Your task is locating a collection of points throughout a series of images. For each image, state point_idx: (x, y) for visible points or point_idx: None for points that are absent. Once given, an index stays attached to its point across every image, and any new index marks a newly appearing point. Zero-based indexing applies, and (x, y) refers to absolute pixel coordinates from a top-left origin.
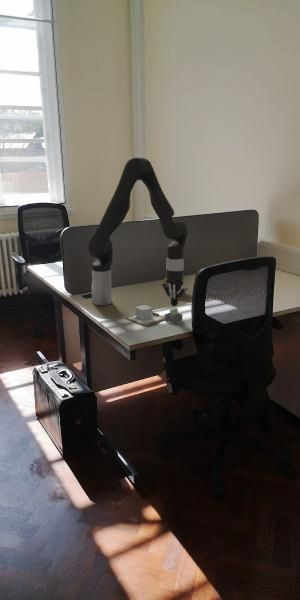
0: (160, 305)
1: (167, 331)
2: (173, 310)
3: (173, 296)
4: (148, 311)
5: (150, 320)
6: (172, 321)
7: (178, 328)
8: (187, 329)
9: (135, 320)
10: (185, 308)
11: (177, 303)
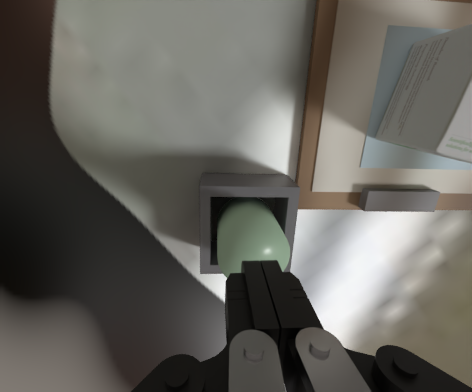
0: (430, 329)
1: (142, 16)
2: (235, 228)
3: (274, 363)
4: (438, 96)
5: (362, 91)
6: (220, 176)
7: (127, 126)
8: (71, 153)
9: (463, 5)
10: None
11: (225, 310)
